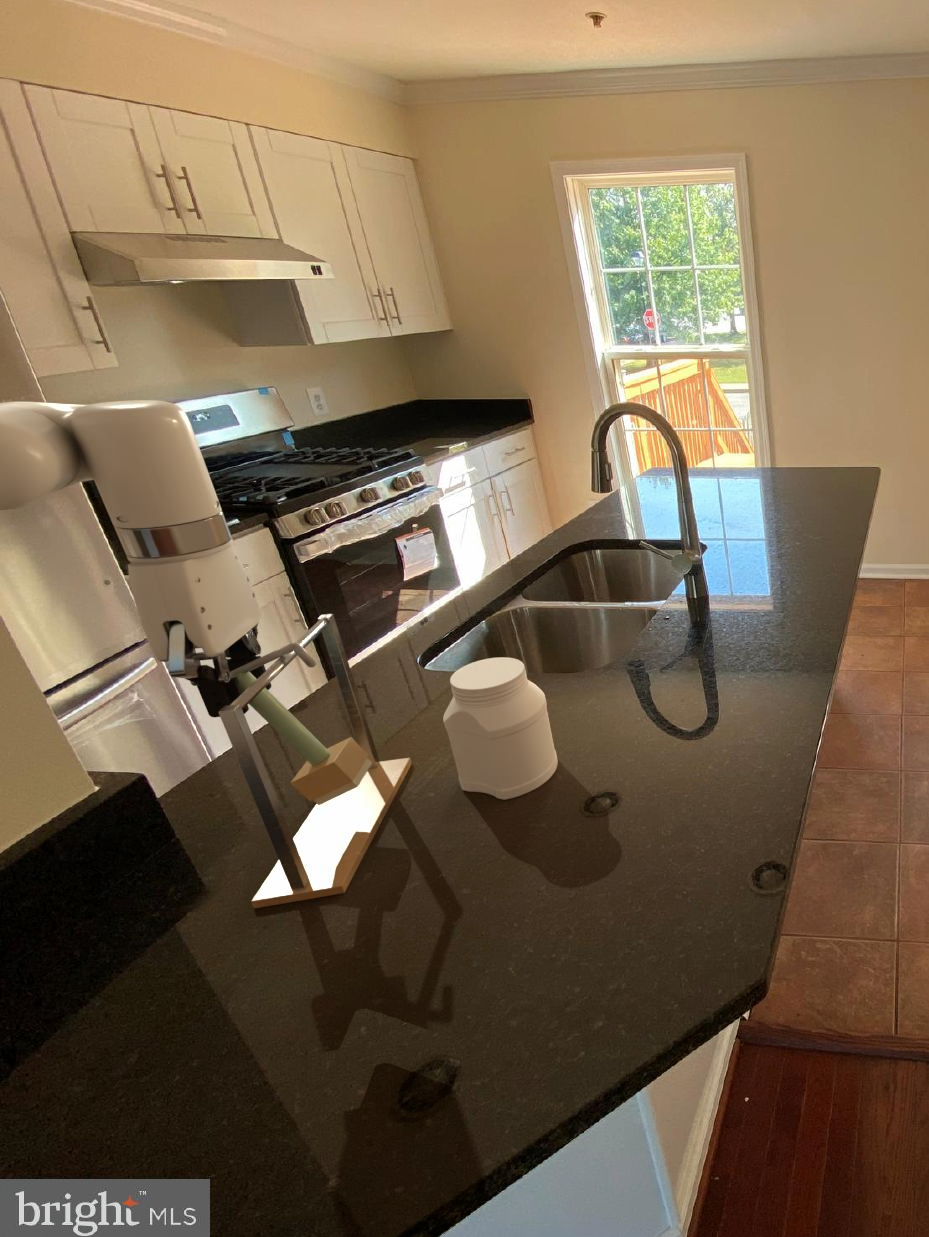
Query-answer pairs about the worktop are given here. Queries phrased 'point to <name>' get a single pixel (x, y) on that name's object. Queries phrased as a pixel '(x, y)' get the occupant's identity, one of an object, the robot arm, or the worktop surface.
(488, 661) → the jar
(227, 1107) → the worktop surface
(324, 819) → the metal frame rack
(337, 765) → the hook stand
